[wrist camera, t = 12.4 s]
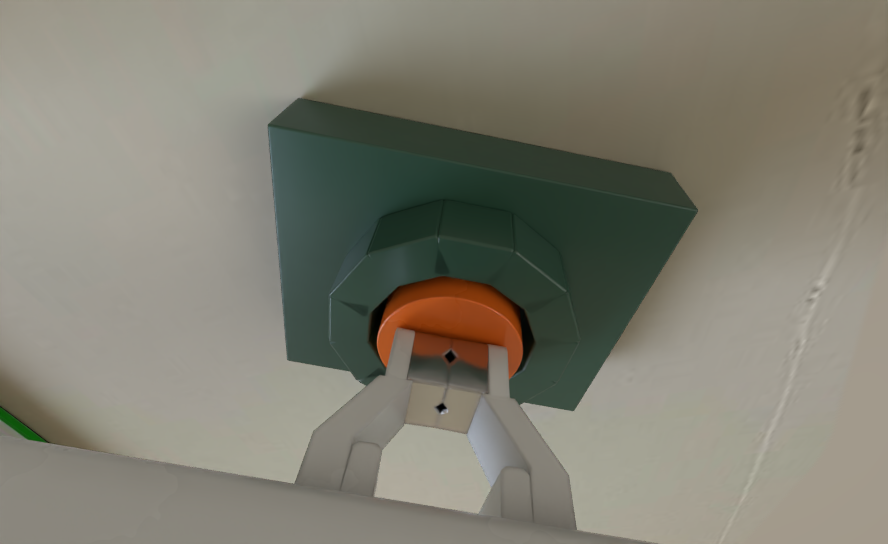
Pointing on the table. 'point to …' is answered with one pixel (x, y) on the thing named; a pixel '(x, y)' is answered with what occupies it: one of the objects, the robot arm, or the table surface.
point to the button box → (462, 238)
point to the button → (453, 315)
